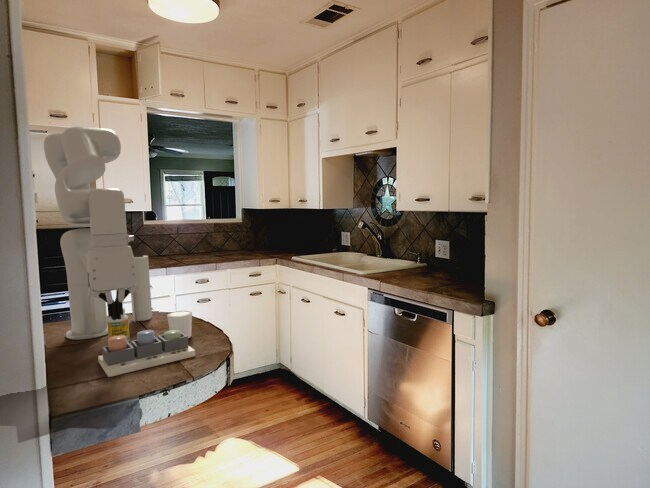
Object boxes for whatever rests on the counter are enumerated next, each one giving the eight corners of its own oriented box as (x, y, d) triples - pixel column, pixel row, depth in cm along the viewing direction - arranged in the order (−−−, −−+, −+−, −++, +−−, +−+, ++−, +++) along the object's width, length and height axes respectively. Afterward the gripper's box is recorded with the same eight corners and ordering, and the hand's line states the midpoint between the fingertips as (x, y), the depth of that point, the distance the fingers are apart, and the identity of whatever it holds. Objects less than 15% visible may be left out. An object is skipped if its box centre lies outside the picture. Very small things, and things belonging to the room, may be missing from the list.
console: (98, 361, 106) (97, 344, 106) (179, 344, 118) (178, 328, 118) (108, 377, 97) (106, 357, 96) (195, 356, 109) (194, 338, 108)
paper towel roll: (146, 315, 149) (142, 254, 147) (155, 318, 145) (151, 255, 143) (126, 320, 143) (121, 257, 141) (134, 323, 140) (130, 258, 137)
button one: (107, 351, 104) (106, 337, 103) (125, 348, 106) (124, 334, 106) (110, 356, 100) (109, 341, 100) (129, 352, 103) (128, 338, 102)
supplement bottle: (128, 338, 125) (125, 305, 124) (131, 342, 120) (129, 309, 119) (107, 341, 122) (105, 308, 121) (110, 346, 117) (107, 312, 116)
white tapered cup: (197, 333, 128) (195, 310, 127) (187, 341, 121) (186, 316, 120) (175, 333, 128) (173, 310, 128) (164, 340, 121) (162, 316, 121)
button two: (136, 345, 108) (135, 332, 107) (152, 342, 110) (151, 329, 110) (140, 350, 104) (139, 336, 104) (157, 346, 107) (156, 332, 106)
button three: (162, 345, 112) (162, 332, 111) (178, 341, 114) (177, 328, 114) (167, 349, 108) (166, 335, 108) (183, 345, 111) (182, 332, 110)
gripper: (139, 238, 108) (144, 310, 110) (70, 243, 99) (77, 321, 101) (147, 240, 102) (153, 315, 104) (75, 245, 93) (82, 328, 95)
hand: (116, 318), depth 102 cm, fingers closed
